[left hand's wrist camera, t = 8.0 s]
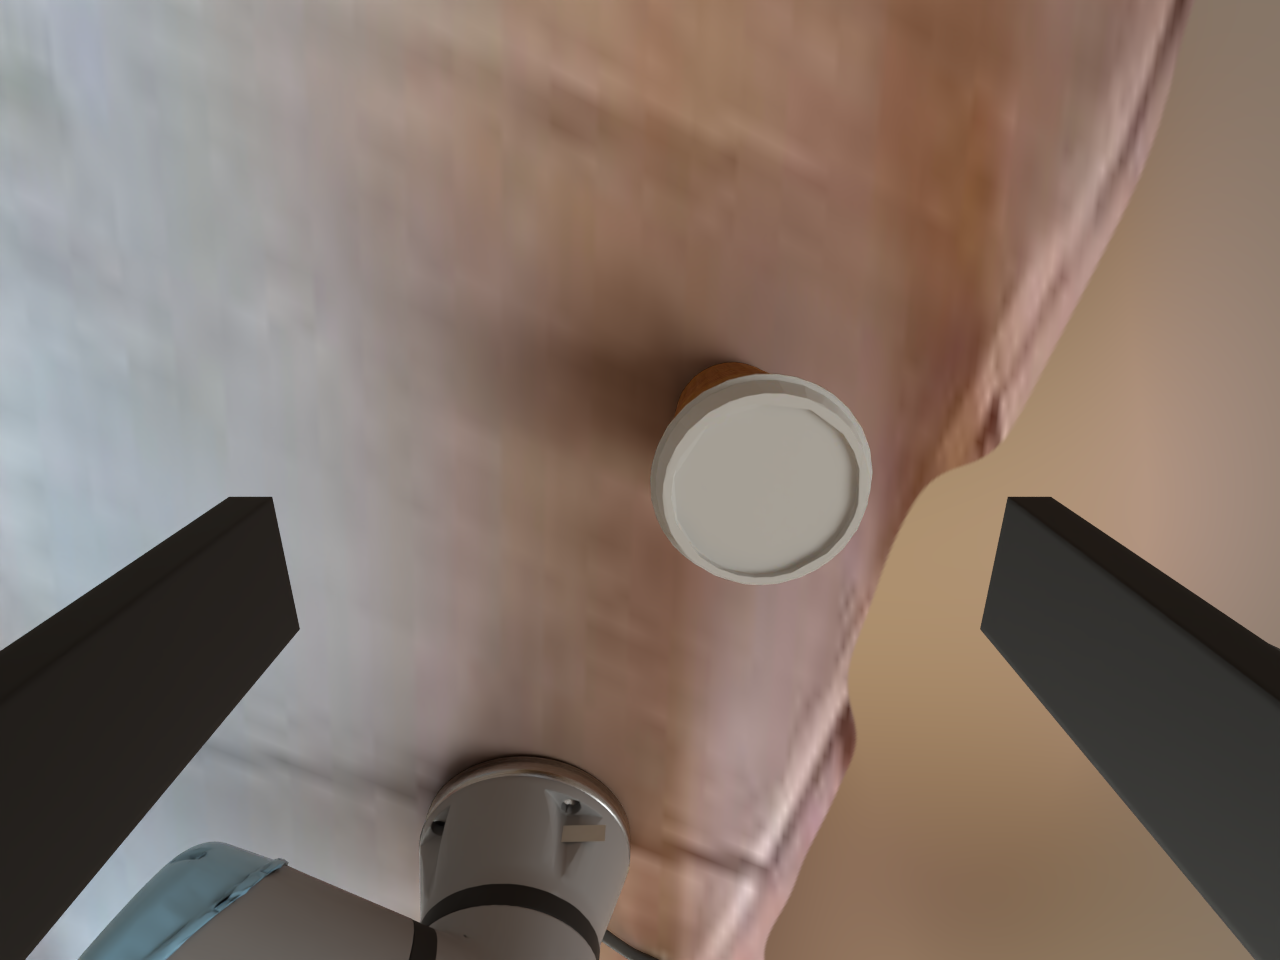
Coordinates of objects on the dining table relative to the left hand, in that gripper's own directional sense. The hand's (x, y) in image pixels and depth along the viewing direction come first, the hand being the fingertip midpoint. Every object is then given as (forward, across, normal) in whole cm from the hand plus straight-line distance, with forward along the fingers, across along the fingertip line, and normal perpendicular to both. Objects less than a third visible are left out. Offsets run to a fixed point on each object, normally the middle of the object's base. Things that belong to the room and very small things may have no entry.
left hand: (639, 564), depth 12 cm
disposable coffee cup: (+27, -5, +5) cm, 28 cm away
